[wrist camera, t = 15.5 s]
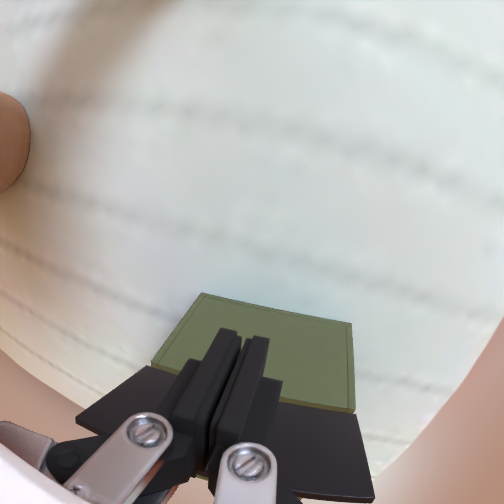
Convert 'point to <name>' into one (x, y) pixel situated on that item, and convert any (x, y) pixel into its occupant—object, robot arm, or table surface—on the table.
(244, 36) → the table surface
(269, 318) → the olive green hollow box
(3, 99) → the vase
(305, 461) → the flap
